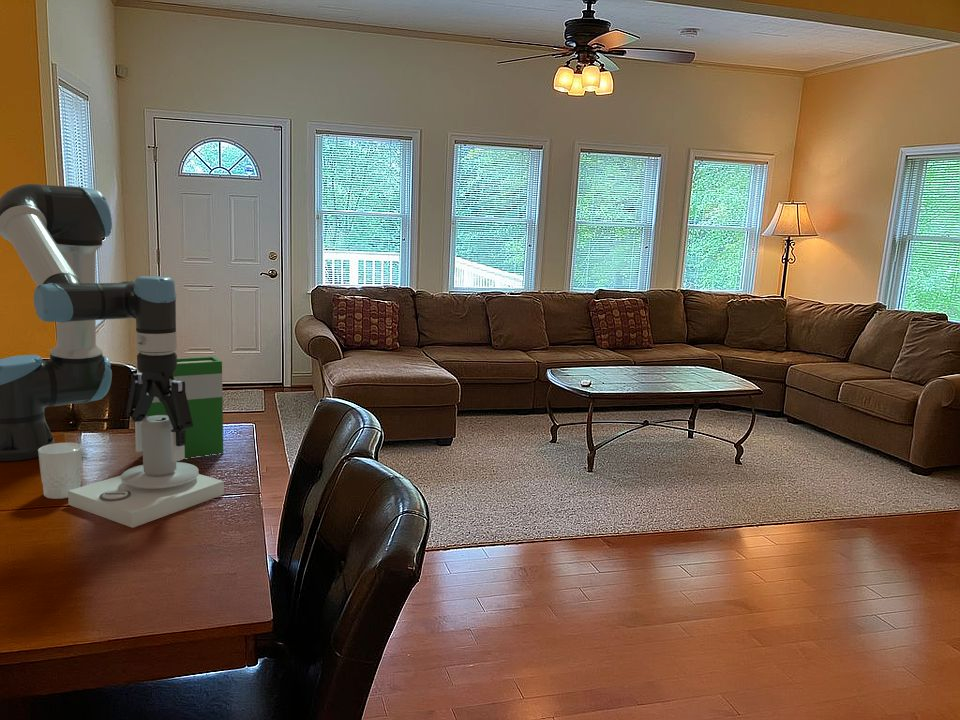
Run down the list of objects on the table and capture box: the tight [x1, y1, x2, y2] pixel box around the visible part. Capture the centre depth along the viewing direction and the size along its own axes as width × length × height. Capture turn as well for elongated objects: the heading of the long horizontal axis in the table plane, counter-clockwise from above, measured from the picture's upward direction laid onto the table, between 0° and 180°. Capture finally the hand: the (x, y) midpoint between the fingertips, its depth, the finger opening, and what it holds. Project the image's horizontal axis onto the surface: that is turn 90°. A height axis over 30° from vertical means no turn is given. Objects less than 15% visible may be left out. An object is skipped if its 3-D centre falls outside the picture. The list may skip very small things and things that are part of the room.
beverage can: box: [141, 415, 177, 477], centre depth 152 cm, size 6×6×12 cm
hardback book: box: [138, 356, 224, 458], centre depth 179 cm, size 18×7×24 cm, turn 124°
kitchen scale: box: [68, 461, 225, 529], centre depth 151 cm, size 20×22×5 cm
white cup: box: [38, 442, 83, 500], centre depth 152 cm, size 8×8×10 cm
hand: (160, 455), depth 153 cm, fingers open, 10 cm apart
